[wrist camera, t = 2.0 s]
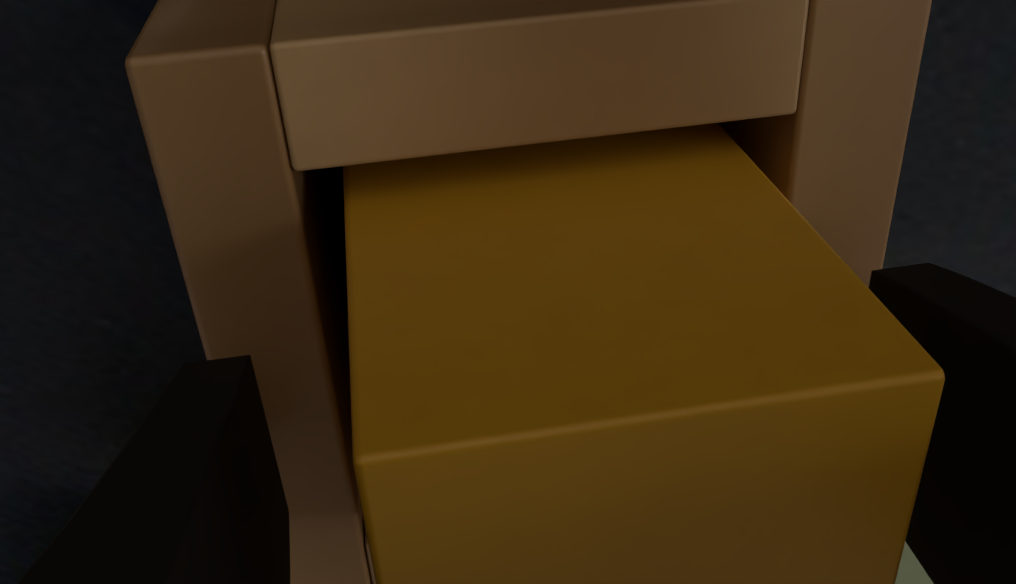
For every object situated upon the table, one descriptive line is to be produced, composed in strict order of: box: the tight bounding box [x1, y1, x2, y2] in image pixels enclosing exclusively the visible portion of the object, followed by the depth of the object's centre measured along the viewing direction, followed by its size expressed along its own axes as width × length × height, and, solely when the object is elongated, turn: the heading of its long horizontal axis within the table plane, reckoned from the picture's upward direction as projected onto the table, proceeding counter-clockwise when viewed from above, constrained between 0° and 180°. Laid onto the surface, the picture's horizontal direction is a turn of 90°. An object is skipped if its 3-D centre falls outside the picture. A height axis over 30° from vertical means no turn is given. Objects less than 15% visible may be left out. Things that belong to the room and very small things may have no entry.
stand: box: [125, 0, 932, 584], centre depth 12 cm, size 7×7×4 cm
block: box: [343, 123, 945, 584], centre depth 10 cm, size 4×4×7 cm
